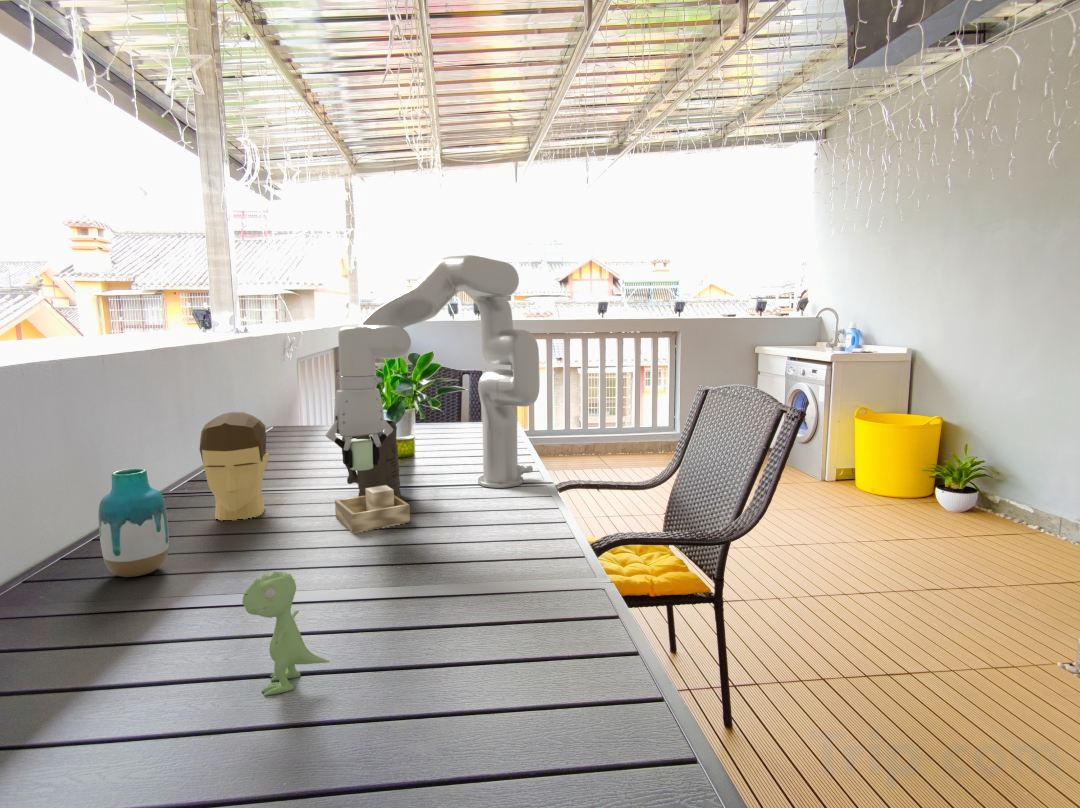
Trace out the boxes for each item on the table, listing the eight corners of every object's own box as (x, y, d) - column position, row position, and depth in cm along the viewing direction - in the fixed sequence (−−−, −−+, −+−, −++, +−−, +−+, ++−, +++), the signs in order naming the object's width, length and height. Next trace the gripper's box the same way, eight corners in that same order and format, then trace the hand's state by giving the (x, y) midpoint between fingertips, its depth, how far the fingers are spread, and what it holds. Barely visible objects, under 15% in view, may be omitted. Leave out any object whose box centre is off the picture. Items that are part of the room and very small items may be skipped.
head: (193, 530, 140) (188, 412, 140) (212, 516, 160) (208, 413, 160) (263, 523, 143) (258, 409, 144) (273, 511, 164) (269, 411, 164)
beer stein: (409, 492, 174) (401, 417, 171) (396, 503, 163) (388, 424, 161) (353, 494, 176) (344, 421, 173) (337, 506, 165) (327, 428, 162)
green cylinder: (369, 464, 149) (368, 438, 148) (376, 468, 145) (375, 441, 144) (347, 467, 146) (345, 440, 145) (353, 471, 142) (352, 444, 141)
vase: (185, 566, 124) (176, 467, 121) (134, 588, 114) (123, 481, 111) (142, 559, 127) (133, 463, 125) (90, 580, 117) (78, 476, 115)
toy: (247, 684, 85) (237, 573, 82) (305, 660, 90) (298, 555, 88) (270, 707, 80) (261, 590, 77) (330, 680, 85) (323, 570, 83)
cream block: (387, 509, 157) (386, 485, 156) (394, 514, 153) (393, 489, 152) (366, 513, 154) (365, 488, 153) (373, 518, 150) (372, 493, 149)
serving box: (389, 509, 159) (389, 491, 159) (410, 523, 149) (409, 504, 148) (335, 518, 152) (334, 500, 152) (353, 533, 142) (352, 514, 141)
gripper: (389, 380, 151) (392, 457, 153) (313, 384, 142) (317, 467, 144) (402, 382, 144) (404, 464, 147) (323, 387, 135) (327, 474, 138)
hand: (361, 464), depth 145 cm, fingers closed on green cylinder, 4 cm apart
